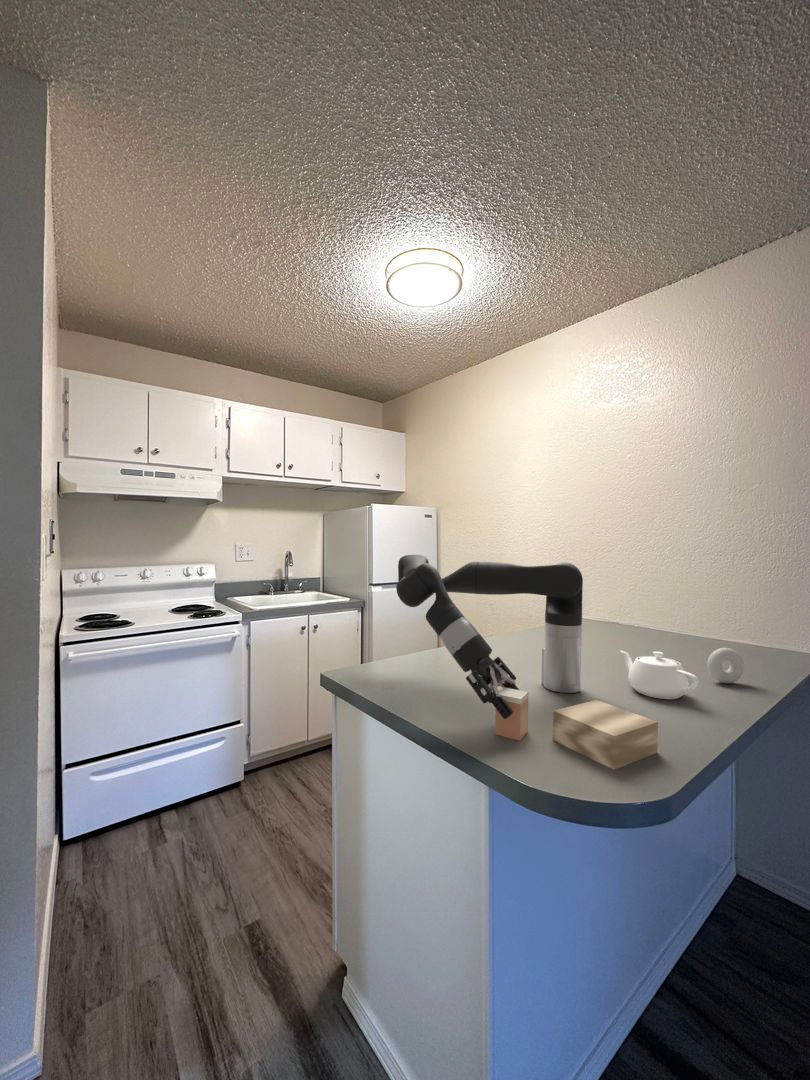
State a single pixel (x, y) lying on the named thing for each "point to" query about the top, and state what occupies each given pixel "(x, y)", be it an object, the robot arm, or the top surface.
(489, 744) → the top surface
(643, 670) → the teapot
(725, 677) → the donut
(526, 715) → the cube
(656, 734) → the pine box
